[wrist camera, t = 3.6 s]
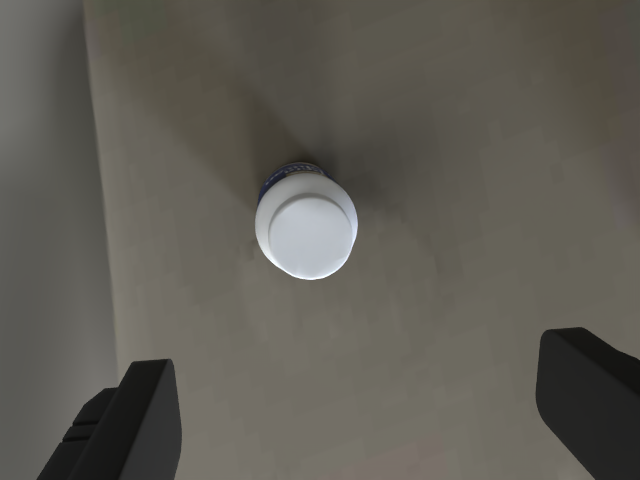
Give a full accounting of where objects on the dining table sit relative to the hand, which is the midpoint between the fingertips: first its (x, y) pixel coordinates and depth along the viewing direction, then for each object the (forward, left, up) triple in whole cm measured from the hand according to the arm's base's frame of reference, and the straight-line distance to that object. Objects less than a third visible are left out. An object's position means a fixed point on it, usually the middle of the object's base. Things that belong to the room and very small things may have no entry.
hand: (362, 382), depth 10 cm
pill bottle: (0, 0, -22) cm, 22 cm away
